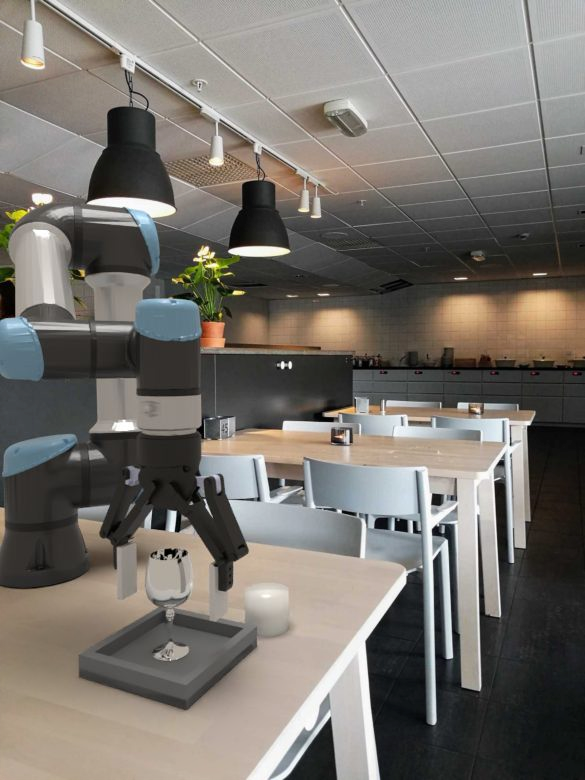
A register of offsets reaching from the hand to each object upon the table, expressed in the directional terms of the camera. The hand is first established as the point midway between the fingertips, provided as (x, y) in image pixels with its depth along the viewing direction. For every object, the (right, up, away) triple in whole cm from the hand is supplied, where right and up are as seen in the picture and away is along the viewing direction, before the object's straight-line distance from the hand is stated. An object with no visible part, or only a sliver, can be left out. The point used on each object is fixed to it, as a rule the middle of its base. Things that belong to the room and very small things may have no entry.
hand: (171, 605), depth 70 cm
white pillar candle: (+11, -6, +9) cm, 16 cm away
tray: (0, -7, 0) cm, 7 cm away
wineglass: (0, -6, 0) cm, 6 cm away
